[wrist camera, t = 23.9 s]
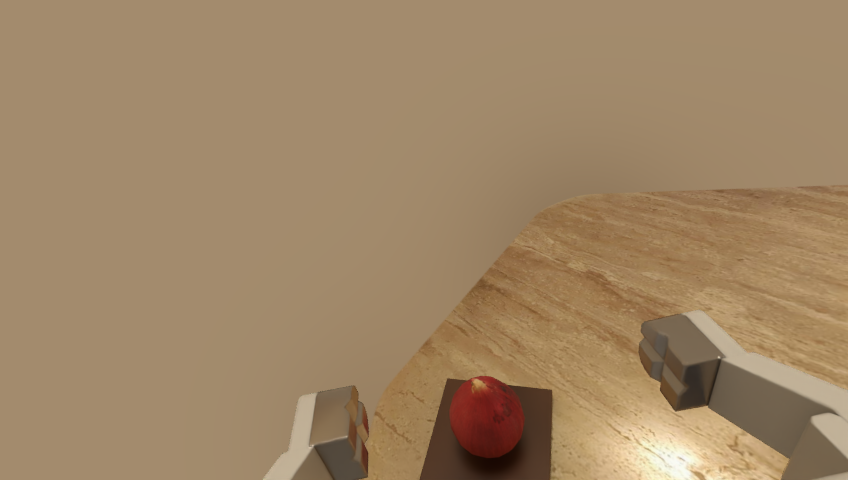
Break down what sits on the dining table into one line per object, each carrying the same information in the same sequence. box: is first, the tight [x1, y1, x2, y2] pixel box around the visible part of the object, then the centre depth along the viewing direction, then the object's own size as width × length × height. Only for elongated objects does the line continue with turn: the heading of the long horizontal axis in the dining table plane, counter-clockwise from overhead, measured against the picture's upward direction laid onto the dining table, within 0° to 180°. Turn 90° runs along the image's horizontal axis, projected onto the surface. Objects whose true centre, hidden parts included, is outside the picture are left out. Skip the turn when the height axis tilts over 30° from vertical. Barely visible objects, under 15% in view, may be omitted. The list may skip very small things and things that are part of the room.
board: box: [420, 379, 552, 480], centre depth 34 cm, size 10×12×1 cm
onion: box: [449, 376, 525, 458], centre depth 32 cm, size 6×6×8 cm
